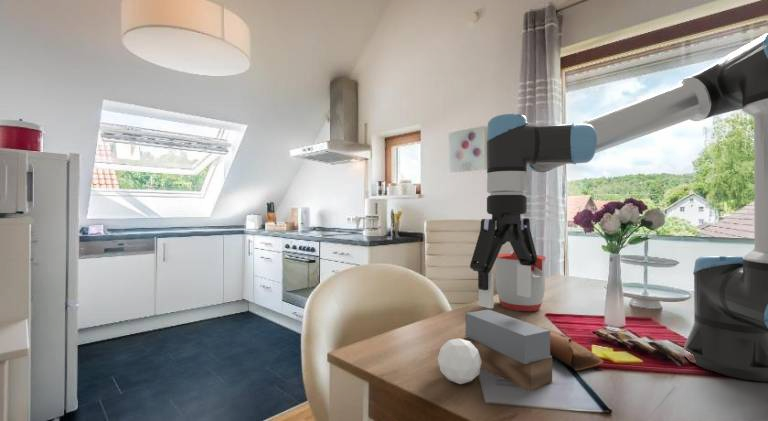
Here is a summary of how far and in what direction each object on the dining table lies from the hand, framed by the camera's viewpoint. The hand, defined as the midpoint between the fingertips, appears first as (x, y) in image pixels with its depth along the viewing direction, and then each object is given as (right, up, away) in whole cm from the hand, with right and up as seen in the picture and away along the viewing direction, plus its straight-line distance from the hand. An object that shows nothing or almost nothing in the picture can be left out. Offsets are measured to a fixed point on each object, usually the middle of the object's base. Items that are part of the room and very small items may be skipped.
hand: (506, 301), depth 72 cm
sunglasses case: (+16, -14, +9) cm, 23 cm away
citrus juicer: (+20, -14, +46) cm, 52 cm away
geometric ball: (-10, -14, -5) cm, 18 cm away
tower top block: (0, -9, 0) cm, 9 cm away
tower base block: (0, -14, 0) cm, 14 cm away
